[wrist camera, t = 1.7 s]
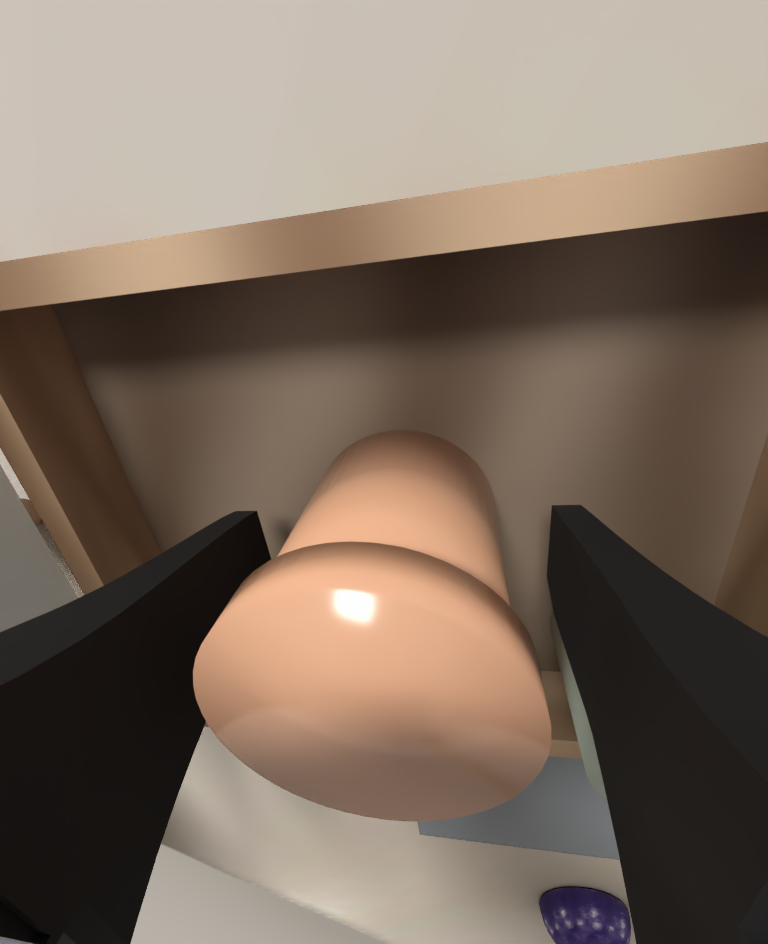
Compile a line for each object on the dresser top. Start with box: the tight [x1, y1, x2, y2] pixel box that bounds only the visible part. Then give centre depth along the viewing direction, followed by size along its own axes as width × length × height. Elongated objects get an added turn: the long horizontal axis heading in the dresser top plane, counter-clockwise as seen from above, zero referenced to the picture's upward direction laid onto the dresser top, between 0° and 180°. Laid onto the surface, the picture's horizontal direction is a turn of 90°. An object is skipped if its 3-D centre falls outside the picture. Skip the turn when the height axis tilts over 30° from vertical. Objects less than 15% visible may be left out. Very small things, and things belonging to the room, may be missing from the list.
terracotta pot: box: [193, 430, 551, 821], centre depth 9 cm, size 5×5×6 cm
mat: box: [418, 756, 620, 860], centre depth 17 cm, size 12×10×1 cm
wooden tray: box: [0, 142, 768, 759], centre depth 11 cm, size 18×14×3 cm
